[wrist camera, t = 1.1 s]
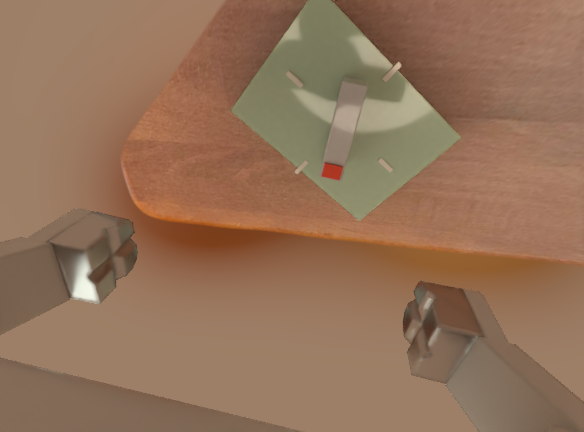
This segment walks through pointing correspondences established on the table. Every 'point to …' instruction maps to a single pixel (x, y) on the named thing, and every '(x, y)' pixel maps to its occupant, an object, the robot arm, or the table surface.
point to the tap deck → (321, 104)
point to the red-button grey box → (343, 127)
